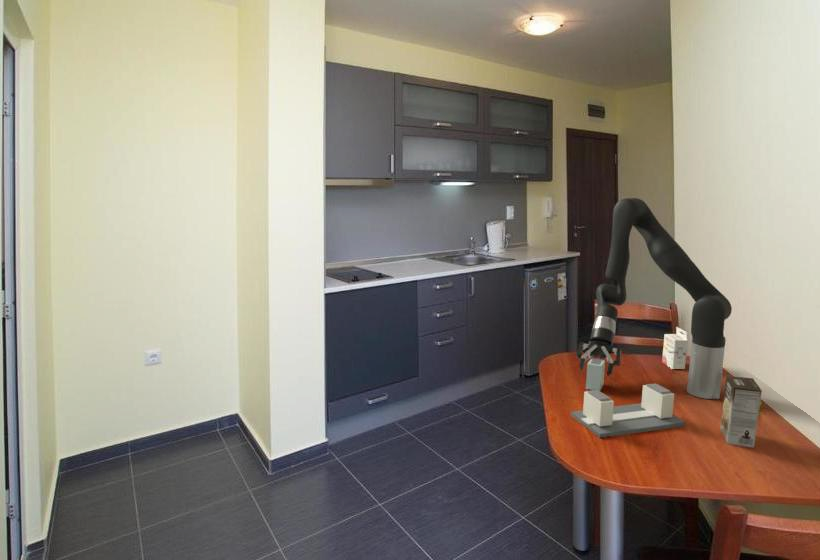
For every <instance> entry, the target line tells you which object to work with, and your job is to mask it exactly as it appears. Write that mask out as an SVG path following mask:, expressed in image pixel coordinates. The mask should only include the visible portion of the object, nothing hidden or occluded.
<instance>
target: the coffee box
mask: <svg viewBox="0 0 820 560" xmlns="http://www.w3.org/2000/svg"><path fill="white" fill-rule="evenodd" d="M724 387H725V388H724V393H723V395H724V396H723V403H722V412H721V419H720V420H721V421H720V430H721V433H722V435H723V437H724V439H725V442H726V443H727V444H728V445H734V446H740V447H747V448H752V449H754V448H755V443H756V437H757V427H758V422H759V421H758V420H759V415H760V414H759V413H760V406H761V401H762V400H761V399H762V392H763V391H762V389H761V388H760V386H759V384H758V383H757V382H756V380H755V379H754V378H752V377H743V376H742V377H741V376H731V375H726V379H725V386H724Z"/></svg>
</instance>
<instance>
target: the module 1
mask: <svg viewBox="0 0 820 560" xmlns="http://www.w3.org/2000/svg"><path fill="white" fill-rule="evenodd" d="M613 407H615V401H614V400H612V399H611V397H610V396H608V395H607V394H605V393H603V392H601V390H600V391H598V390H587V391H584V392H583V406H582V410H583V415H585V416H586V417H587V418H589V419H590V420H591V421H593V422H594V423H595V424H597V425H598V426H608V425H612V420H613Z"/></svg>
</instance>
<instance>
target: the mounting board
mask: <svg viewBox="0 0 820 560" xmlns="http://www.w3.org/2000/svg"><path fill="white" fill-rule="evenodd" d="M570 416H571V417H572V418H573V419H575V420H576V421H577V422H578V421H579V424H581V423H582V424H583V427H585V426H586V427H587V428H588V429H587V428H586V427H585V428H586V429H587V430H589V431H590V430H591V431H592V432H591V431H590V432H591V433H593V434H594V435H595V436H596V435H597V438H599V439H601V438H600V437H603V438H608V437H607V436H610V437H616V436H623V435H624V436H625V435H631V434H638V433H646V432H652V431H659V430H660V431H661V430H667V429H673V428H681V427H682V428H683V427H686V426H687V425H686V424H687V423H686V421H685V420H684V419H681V418H679V417H677V416H676V415H674V414H672V417H668V418H661V419H660V418H659V417H657V416H655V415H654V414H652V413H650V412H649V411H647V410H645V409H644V408H642V407H641V402H640V403H632V404H624V405H617V406H616V405H614V407H613V420H612V425H608V426H598V425H597V424H595V423H594V422H593V421H591V420H590V419H589V418H587V417H586V416H585V415H583V409H582V410H575V411H571V412H570ZM582 424H581V425H582Z"/></svg>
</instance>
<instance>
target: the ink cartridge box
mask: <svg viewBox="0 0 820 560" xmlns="http://www.w3.org/2000/svg"><path fill="white" fill-rule="evenodd" d="M675 329H676V332H675V333H665V334H664V336H663V346H662V347H663V349H662V358H661V359H662V360H661V363H663V365H666V366H667V367H668V368H669V367H670V368H669V369H670V370H672V369H686V359H687V350H688V332H687V331H685V330H684V329H682V328H680V327H679V326H676V327H675Z"/></svg>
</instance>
